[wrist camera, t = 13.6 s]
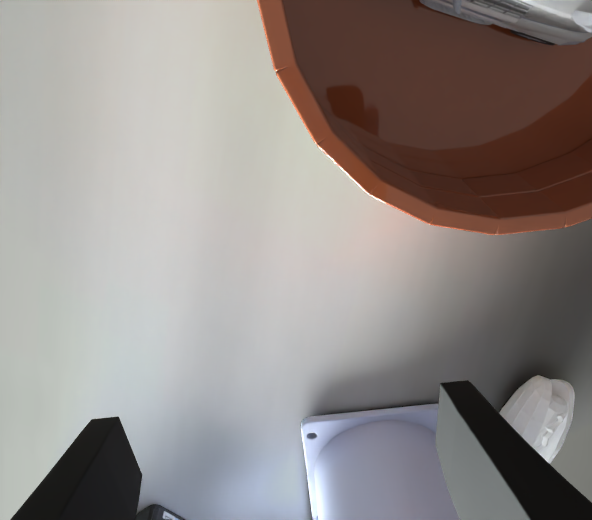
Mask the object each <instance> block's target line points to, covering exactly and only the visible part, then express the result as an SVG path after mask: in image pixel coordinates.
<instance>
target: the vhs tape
mask: <svg viewBox="0 0 592 520" xmlns="http://www.w3.org/2000/svg"><path fill="white" fill-rule="evenodd" d="M135 520H184V519H183V518H181V517H179V516H177V515H176V514H174V513H172V512H170V511H169V510H167V509H165V508H163V507H162V506H160V505H151V506H149V507H148V508H146V509H144V510H143V511H141V512H140V513H139V514H138V515H136V519H135Z"/></svg>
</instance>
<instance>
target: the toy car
mask: <svg viewBox="0 0 592 520" xmlns="http://www.w3.org/2000/svg"><path fill="white" fill-rule="evenodd" d="M420 2H421V3H422V4H424V5H426V6H427V7H429V8H431V9H434V10H437V11H440V12H443V13H446V14H449V15H452V16H455V17H458V18H461V19H464V20H467V21H471V22H474V23H478V24H484V25H491V24H495V25H498V26H500V27H503V28H508V29H511V30H510V32H511V33H513V34H515V35H518V36H520V37H523V38H526V39H529V40H532V41H536V42H539V43H543V44H547V45H555V44H558V45H576V44H579V43H581V42H585V41H586V40H587V39H589V38H591V37H592V0H420Z"/></svg>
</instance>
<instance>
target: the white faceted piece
mask: <svg viewBox="0 0 592 520" xmlns="http://www.w3.org/2000/svg"><path fill="white" fill-rule="evenodd" d="M574 400H575V393H574V389H573V387H572V386H571V384H570V383H568V382H567V381H564V380H561V379H551V380H550V379H548V378H545V377H543V376H540V375H537V376H534V377H532V378H531V379H529V380H528V381H527V382H526V383H524V384H523V385H522V386H520V387H519V388H518V389H517V390H516V392H515V393H514V394H513V395H512V397H511V398H510V399H509V400H508V402H507V403H506V404H505V405H504V407H503V408H502V409H501V411H500V412H499V414H500V415H501V416H502V417H503V418H504V419H505V420H506V421H507V422H508V423H509V424H510V425H511V426H512V427H513V428H514V429H515V430H516V431H517V432H518V433H519V434H520V436H521V437H522V438H523V439H524V440H525V441H526V442H527V443H528V444H529V445H530V446H531V447H533V448H534V449H535V450H536V451H537V452H538V453H539V454H540V455H541V456H542V457H543V458H544V459H545V460H546V461H547V462H548V463H549V464H550V463H551V461H552V460H553V458H554V457H555V456H556V454H557V453H558V451H559V450H560V449H561V447H562V445H563V442H564V440H565V437H566V435H567V432H568V430H569V428H570V425H571V423H572V418H573V409H574Z"/></svg>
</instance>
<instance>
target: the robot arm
mask: <svg viewBox="0 0 592 520" xmlns="http://www.w3.org/2000/svg"><path fill="white" fill-rule="evenodd" d="M311 432H313V433H311ZM301 433H302V440H303V448H304V456H305V464H306V472H307V480H308V487H309V495H310V503H311V511H312V519H313V520H592V503H591V502H590V501H589V500H588V499H587V498H586V497H585V496H584V495H582V494H581V493H580V492H579V491H578V490H577V489H576V488H575V487H574V486H572V485H571V484H570V483H569V482H568V481H567V480H566V479H565V478H564V477H563V476H562V475H560V474H559V473H558V472H557V471H556V470H555V469H554V468H553V467H552V466H551V465H550V464H549V463H548V462H547V461H546V460H545V459H544V458H543V457H542V456H541V455H540V454H539V453H538V452H537V451H536V450H535V449H534V448H533V447H531V446H530V445H529V444H528V443H527V442H526V441H525V440H524V439H523V438H522V437H521V436H520V434H519V433H518V432H517V431H516V430H515V429H514V428H513V427H512V426H511V425H510V424H509V423H508V422H507V421H506V420H505V419H504V418H503V417H502V416H501V415H500V414H499V413H498V412H497V410H496V409H495V408H494V407H493V406H492V405H491V404H490V403H489V402H488V401H487V400H486V399H485V397H484V396H483V395H482V394H481V393H480V392H479V391H478V390H477V389H476V388H475V386H474V385H473V384H472V383H470V382H469V381H468V380H467V381H457V382H447V383H440V394H439V403H436V404H427V405H417V406H408V407H398V408H388V409H379V410H369V411H359V412H350V413H340V414H330V415H321V416H311V417H306V418H305V419H303V420H302V421H301ZM141 480H142V473H141V471H140V468H139V466H138V463H137V461H136V458H135V456H134V453H133V451H132V448H131V446H130V444H129V441H128V439H127V436H126V434H125V431H124V429H123V426H122V424H121V421H120V419H119V417H111V418H101V419H92V420H91V421H90V422H89V423H88V424H87V426H86V427H85V428H84V429H83V431H82V432H81V433H80V434H79V436H78V437H77V438H76V439H75V441H74V442H73V443H72V444H71V446H70V447H69V448H68V449H67V451H66V452H65V453H64V454H63V456H62V457H61V458H60V460H59V461H58V462H57V463H56V465H55V466H54V467H53V468H52V470H51V471H50V472H49V473H48V475H47V476H46V477H45V478H44V480H43V481H42V482H41V483H40V485H39V486H38V487H37V488H36V489H35V491H34V492H33V493H32V494H31V495H30V497H29V498H28V499H27V500H26V502H25V503H24V504H23V505H22V506H21V508H20V509H19V510H18V511H17V513H16V514H15V515H14V516H13V517H12V518H11V520H135V519H136V513H137V507H138V501H139V494H140V487H141Z"/></svg>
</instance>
